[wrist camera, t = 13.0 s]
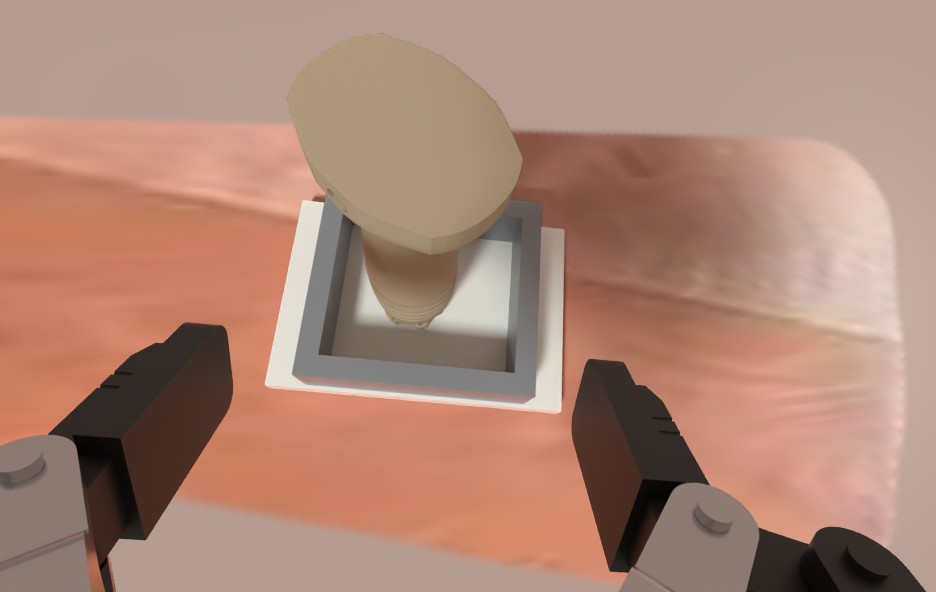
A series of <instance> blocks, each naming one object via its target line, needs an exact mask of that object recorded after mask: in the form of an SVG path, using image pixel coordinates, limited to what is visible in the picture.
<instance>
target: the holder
mask: <svg viewBox="0 0 936 592" xmlns="http://www.w3.org/2000/svg"><path fill="white" fill-rule="evenodd" d="M541 222H542V203H537V202H528V201H519V200H510V202H509V204H508V206H507V207H506V209H505V210H504V212H503V213H502V215H501V216H500V218H499V219H498V220H497V221H496V222H495V223H494V224H493V225H492V226H491V227H490V228H489V229H488V230H487V231H486V232H484V233H483V234H482V235H481V236H479V237H478V238H477V239H475V240H474V241H472V242H470V243H469V244H467V245H465V246H463V247H461V248H459V249H458V270H457V276H456V281H455V285H454V289H453V291H452V294H451V296H450V298H449V301H448V303H447V304H446V307H445V309H444V311H443V313H442V314H441V315H437V316H436V317H435V318H434V319H432V320H431V321H430V322H429V324H428V327H427V328H425V329H422V330H418V329H417V328H415V327H413V326H411V325H407V324H398V325H396V324H395V323H393V322H392V321H391V320H390V319H389V318H388V317H387V315H386V313H385V310H384V309H383V308H382V306H381V305H380V303H379V301H378V300H377V298H376V296H375V294H374V292H373V289H372V287H371V284H370V281H369V278H368V275H367V271H366V266H365V259H364V250H363V242H362V234H361V227H360V226H358V225H357V224H355V223H354V222H353V221H351V220H350V219H349V218H348V217H346V216H345V215H344V214H343V213H342V212H341V211H340V210H339V209H338V207H337V206H336V205H335V204H334V203H333V201H332V200H331V199H330V198H329V197H328V196H327V194H326V196H325V201H324V202H315V201H306V200H303V201H302V205H301V210H300V215H299V220H298V225H297V230H296V235H295V239H294V244H293V249H292V254H291V259H290V264H289V269H288V273H287V278H286V283H285V288H284V293H283V298H282V303H281V307H280V312H279V317H278V322H277V327H276V332H275V337H274V341H273V346H272V351H271V356H270V361H269V366H268V371H267V375H266V380H265V386H267V387H269V388H276V389H287V390H298V391H309V392H321V393H332V394H343V395H354V396H365V397H377V398H388V399H399V400H410V401H421V402H433V403H444V404H455V405H466V406H478V407H489V408H500V409H511V410H522V411H534V412H545V413H556V414H557V413H559V412H561V401H562V346H563V290H564V235H565V229H559V228H550V227H541Z"/></svg>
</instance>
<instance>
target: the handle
mask: <svg viewBox="0 0 936 592" xmlns="http://www.w3.org/2000/svg"><path fill="white" fill-rule="evenodd" d="M287 102H288V105H289V109H290V112H291V116H292V120H293V123H294V126H295V129H296V132H297V136H298V139H299V142H300V144H301V147H302V150H303V152H304V155H305V157H306V160H307V162H308V165H309V167H310V169H311V172H312V174H313V176H314V178H315V181H316V182H317V183H318V185H319V186H320V187H321V188H322V190H323V191H324V192H325V193H326V194H327V196H328V197H329V198H330V199H331V200H332V201H333V203H334V204H335V205H336V206H337V207H338V209H339V210H340V211H341V212H342V213H343V214H344V215H345V216H346V217H348V218H349V219H350V220H351V221H353V222H354V223H355V224H357V225H358V226H360V227H361V234H362V242H363V250H364V259H365V266H366V271H367V275H368V278H369V281H370V284H371V287H372V289H373V292H374V294H375V296H376V298H377V300H378V301H379V303H380V305H381V306H382V308H383V309H384V310H385V313H386V315H387V317H388V318H389V319H390V320H391V321H392V322H393V323H395V324H396V325H398V324H407V325H411V326H413V327H415V328H417V329H418V330H422V329H425V328H427V327H428V324H429V322H430V321H431V320H432V319H434V318H435V317H436V316H437V315H441V314H442V313H443V311H444V309H445V307H446V304H447V303H448V301H449V298H450V296H451V294H452V291H453V289H454V285H455V281H456V276H457V270H458V249H459V248H461V247H463V246H465V245H467V244H469V243H470V242H472V241H474V240H475V239H477V238H478V237H479V236H481V235H482V234H483V233H484V232H486V231H487V230H488V229H489V228H490V227H491V226H492V225H493V224H494V223H495V222H496V221H497V220H498V219H499V218H500V216H501V215H502V213H503V212H504V210H505V209H506V207H507V206H508V204H509V202H510V200H511V198H512V195H513V192H514V189H515V187H516V184H517V181H518V178H519V175H520V172H521V167H522V162H523V158H522V155H521V153H520V150H519V148H518V146H517V143H516V141H515V139H514V136H513V134H512V132H511V130H510V127H509V125H508V123H507V121H506V119H505V117H504V115H503V113H502V112H501V110H500V108H499V107H498V105H497V103H496V102H495V101H494V100H493V99H492V98H491V97H490V96H489V95H488V94H487V92H486V91H485V90H484V89H483V88H481V87H480V86H479V85H478V84H477V83H476V82H475V81H473V80H472V79H471V78H470V77H469V76H468V75H466V74H465V73H464V72H463V71H462V70H461V69H460V68H459V67H457V66H456V65H454V64H453V63H452V62H450V61H449V60H448V59H446V58H445V57H443V56H441V55H439V54H436V53H435V52H433V51H431V50H428V49H426V48H423V47H420V46H417V45H415V44H412V43H409V42H406V41H403V40H400V39H397V38H394V37H391V36H388V35H385V34H382V33H380V34H369V35H364V36H358V37H354V38H351V39H348V40H346V41H343V42H341V43H338V44H336V45H335V46H333V47H331V48H329V49H327V50H326V51H324V52H322V53H321V54H320V55H318V56H317V57H316V58H315V59H313V60H312V61H311V62H309V63H308V64H307V65H306V66H305V68H304V69H303V70H302V71H301V72H300V73H299V74H298V75H297V77H296V79H295V80H294V82H293V84H292V86H291V88H290V91H289V93H288V96H287Z"/></svg>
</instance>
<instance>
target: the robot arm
mask: <svg viewBox="0 0 936 592" xmlns="http://www.w3.org/2000/svg"><path fill="white" fill-rule="evenodd" d="M232 395H233V379H232V370H231V361H230V353H229V344H228V336H227V331H226V329H225V328H224V327H223V326H221V325H211V324H199V323H188V322H187V323H184V324H182V325H181V326H180V327H179V328H178V329H177V330H176V331H175V332H174V333H173V334H172V335H171V336H170V337H169V338H168V339H167V340H166V341H165V342H164V343H155V344H153V345H151V346H149V347H147V348H145V349H143V350H141V351H139V352H137V353H135V354H133V355H131V356H130V357H129V358H128V359H127V360H126V361H125V362H124V363H123V364H122V365H121V366H120V367H119V368H118V369H116V370H115V373H114V375H110V376H109V377H108V378H107V379H106V380H105V381H104V382H103V383H102V384H101V386H100V388H96V389H95V390H94V391H93V392H92V393H91V394H90V395H89V396H88V397H87V398H86V399H85V400H84V401H83V402H82V403H80V404H79V405H78V406H77V407H76V408H75V409H74V410H73V411H72V412H71V413H70V414H69V415H68V416H67V417H66V418H65V419H64V420H62V421H61V422H60V423H59V424H58V425H57V426H56V427H55V428H54V429H53V430H52V431H51V432H50V433H49V434H48V435H38V436H31V437H26V438H22V439H18V440H15V441H12V442H9V443H7V444H4V445H2V446H0V592H116V588H115V584H114V578H113V571H112V566H111V562H110V558H109V555H108V554H109V552H110V551H111V550H112V548H113V547H114V545H115V544H116V542H117V541H118V540H119V539H133V540H146V539H147V538H148V536H149V534H150V533H151V531H152V530H153V528H154V527H155V525H156V523H157V522H158V520H159V519H160V517H161V515H162V514H163V512H164V511H165V509H166V508H167V506H168V504H169V503H170V501H171V500H172V498H173V497H174V495H175V493H176V492H177V490H178V489H179V487H180V486H181V484H182V482H183V481H184V479H185V478H186V476H187V475H188V473H189V471H190V470H191V468H192V467H193V465H194V464H195V462H196V460H197V459H198V457H199V456H200V454H201V453H202V451H203V449H204V448H205V446H206V445H207V443H208V442H209V440H210V438H211V437H212V435H213V434H214V432H215V431H216V429H217V427H218V426H219V424H220V423H221V421H222V420H223V418H224V416H225V415H226V413H227V411H228V409H229V407H230V404H231V400H232ZM572 438H573V443H574V446H575V450H576V454H577V457H578V461H579V464H580V468H581V471H582V475H583V478H584V482H585V486H586V489H587V493H588V496H589V500H590V503H591V507H592V510H593V514H594V518H595V521H596V525H597V528H598V532H599V535H600V539H601V542H602V546H603V550H604V553H605V557H606V560H607V564H608V567H609V571H610V572H626V573H628V575H627V577H626V579H625V581H624V583H623V585H622V587H621V589H620V591H619V592H926V591H925V590H924V589H923V587H922V586H921V585H920V583H918V581H917V580H916V579H915V577H914V576H913V575H912V573H910V571H909V570H908V569H907V567H906V566H905V565H904V564H903V563H902V562H901V561H900V560H899V559H898V558H897V557H896V556H895V555H893V554H892V553H891V552H890V551H889V550H887V549H886V548H884V547H883V546H882V545H880V544H879V543H877V542H875V541H874V540H872V539H870V538H868V537H866V536H864V535H862V534H860V533H857V532H855V531H852V530H849V529H845V528H840V527H825V528H822V529H820V530H819V531H817V532H816V534H815V536H814V537H813V539H812V541H811V542H810V544H806V543H803V542H800V541H797V540H794V539H791V538H788V537H785V536H782V535H778V534H775V533H772V532H769V531H766V530H764V529H761V528H759V527H758V526H757V523H756V521H755V520H754V518H753V516H752V515H751V514H750V512H749V511H748V510H747V509H746V508H745V507H744V506H743V505H742V504H741V503H740V502H739V501H738V500H736V499H735V498H733V497H732V496H731V495H729V494H727V493H726V492H724V491H722V490H720V489H717V488H715V487H712V486H710V485H709V483H708V481H707V479H706V478H705V476H704V474H703V472H702V470H701V469H700V467H699V465H698V463H697V462H696V460H695V458H694V456H693V454H692V453H691V451H690V449H689V447H688V446H687V444H686V442H685V440H684V438H683V437H682V436H680V431H679V430H678V428H677V426H676V424H675V422H672V417H671V415H670V414H669V412H668V410H667V408H666V406H665V405H664V403H663V401H662V400H661V399H659V398H658V397H657V396H656V395H655V394H654V393H653V392H652V391H651V390H649V389H648V388H647V387H646V386H642V385H635V383H634V381H633V379H632V377H631V375H630V373H629V371H628V369H627V367H626V365H625V364H624V363H623V362H619V361H608V360H597V359H589V360H588V361H587V363H586V365H585V368H584V372H583V376H582V380H581V384H580V388H579V391H578V395H577V399H576V403H575V407H574V411H573V416H572Z"/></svg>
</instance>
